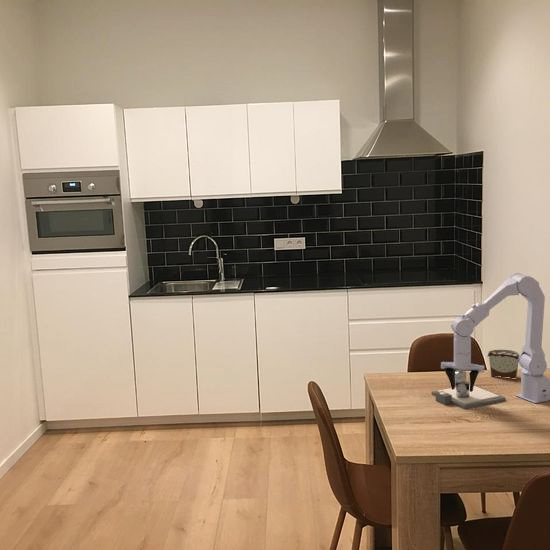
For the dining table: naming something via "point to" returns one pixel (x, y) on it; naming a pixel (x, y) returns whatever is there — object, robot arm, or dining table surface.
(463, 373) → the steel spacer
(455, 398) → the kitchen scale
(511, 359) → the food container
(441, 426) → the dining table surface
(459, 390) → the steel spacer
